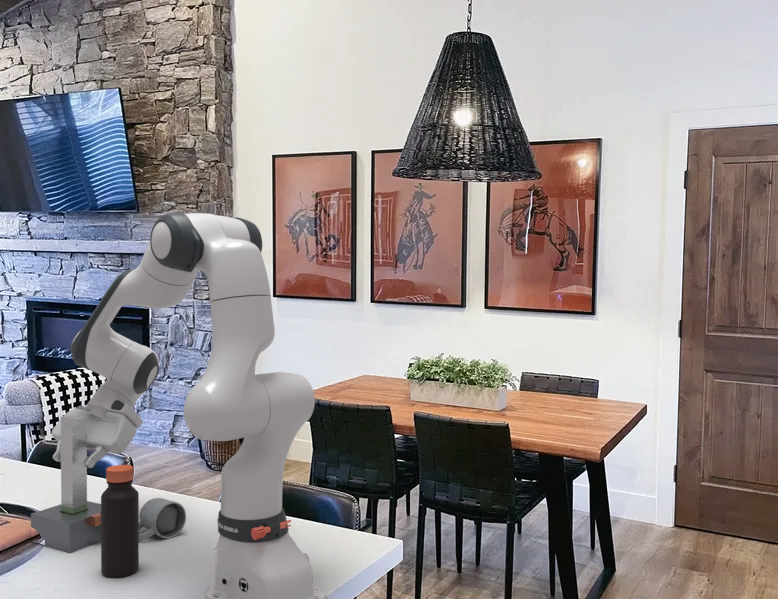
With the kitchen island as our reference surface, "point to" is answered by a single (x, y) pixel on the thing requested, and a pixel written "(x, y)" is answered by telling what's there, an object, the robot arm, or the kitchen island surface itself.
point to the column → (73, 464)
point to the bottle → (119, 523)
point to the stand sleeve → (68, 527)
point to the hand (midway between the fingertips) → (71, 463)
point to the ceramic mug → (161, 518)
